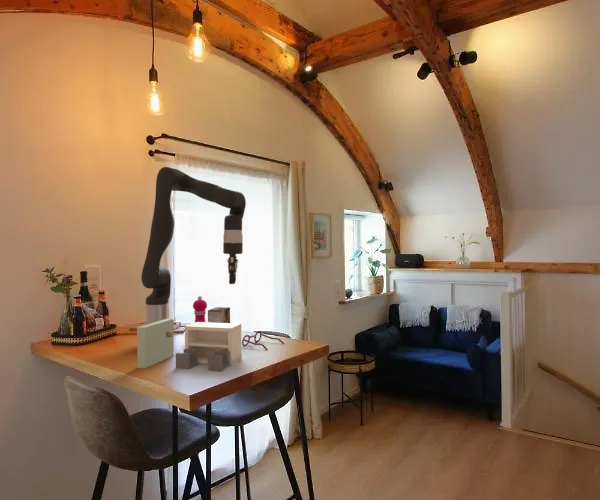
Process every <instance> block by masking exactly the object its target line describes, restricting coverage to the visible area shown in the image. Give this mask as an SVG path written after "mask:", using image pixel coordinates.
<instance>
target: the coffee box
mask: <svg viewBox="0 0 600 500" xmlns="http://www.w3.org/2000/svg"><path fill="white" fill-rule="evenodd" d="M207 322H211V323H231V307H229V306H228V307H226V306H224V307H222V306H221V307H219V306H218V307H217V306H216V307H213V308H211V309H208V310H207Z"/></svg>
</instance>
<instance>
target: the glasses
mask: <svg viewBox="0 0 600 500" xmlns="http://www.w3.org/2000/svg"><path fill="white" fill-rule="evenodd" d="M258 334H259V339H257V335H258ZM262 337H265V338H267V339H270V340H277V341H279V342H280V343H281V344H282V345H285V344H286V343H285V342H284V341H282V339H280V338H278V337H272V336H268V335H266V334H263V333H262V332H261V331H257V332H255V334H254V335H253V334H252V335H248V334H245V335H244V336H243V338H242V339H241V346H242V347H246V346H248V345H249V344H251V345H254V346H262V347H263V349H264V350H265V351H269V349H268V348H267V347H266V346H265V345H264V344H263V343H258V342H260V340H261V339H262ZM246 338H248V339H246ZM251 338H254V339H253V341H254V342H253V341H251ZM244 342H246V343H244Z"/></svg>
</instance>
